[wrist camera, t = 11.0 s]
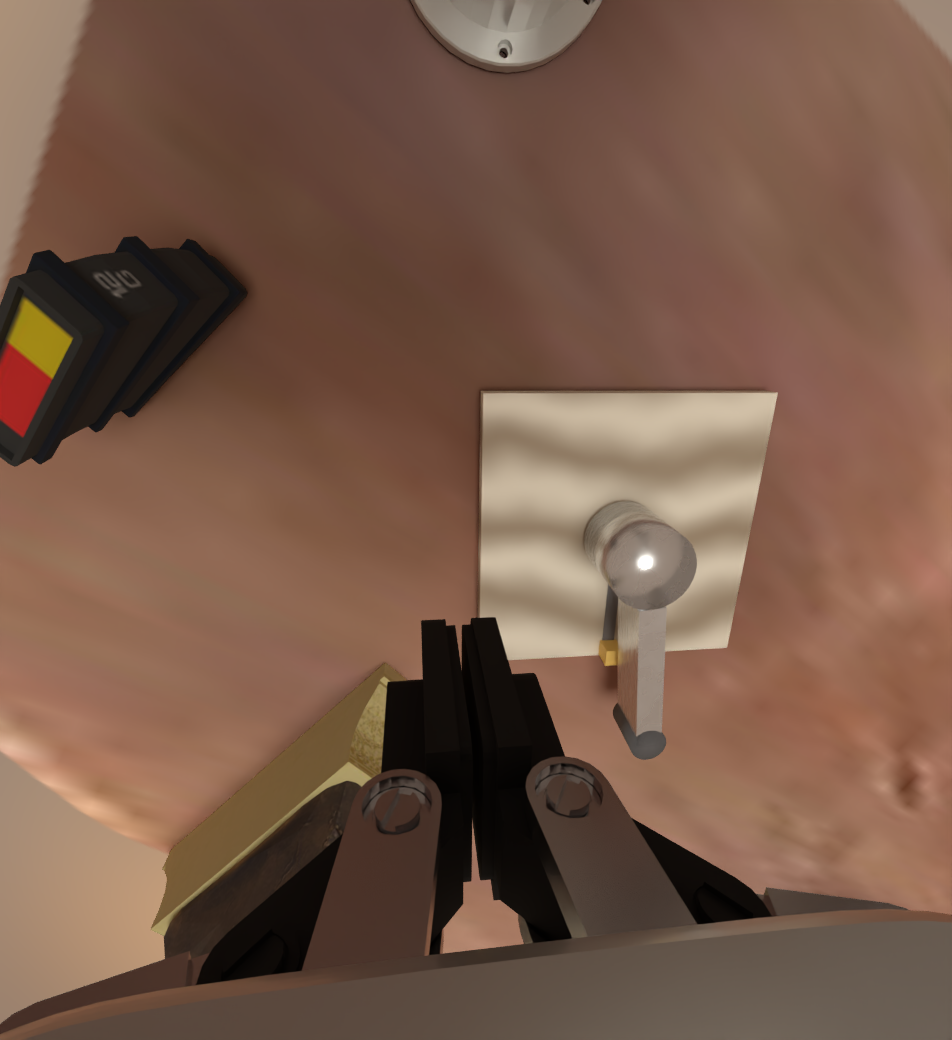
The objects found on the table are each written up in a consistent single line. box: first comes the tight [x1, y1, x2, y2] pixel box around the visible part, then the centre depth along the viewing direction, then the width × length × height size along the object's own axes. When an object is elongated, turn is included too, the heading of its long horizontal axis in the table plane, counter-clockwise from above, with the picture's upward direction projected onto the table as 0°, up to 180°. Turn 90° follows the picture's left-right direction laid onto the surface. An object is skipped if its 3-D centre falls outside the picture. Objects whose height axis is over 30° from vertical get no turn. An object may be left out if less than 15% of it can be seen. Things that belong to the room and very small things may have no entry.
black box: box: [0, 236, 247, 467], centre depth 30 cm, size 4×13×15 cm, turn 132°
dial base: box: [477, 390, 778, 666], centre depth 42 cm, size 22×22×3 cm
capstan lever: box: [584, 501, 697, 760], centre depth 41 cm, size 19×6×6 cm, turn 5°
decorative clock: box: [151, 663, 407, 959], centre depth 36 cm, size 28×13×30 cm, turn 132°
